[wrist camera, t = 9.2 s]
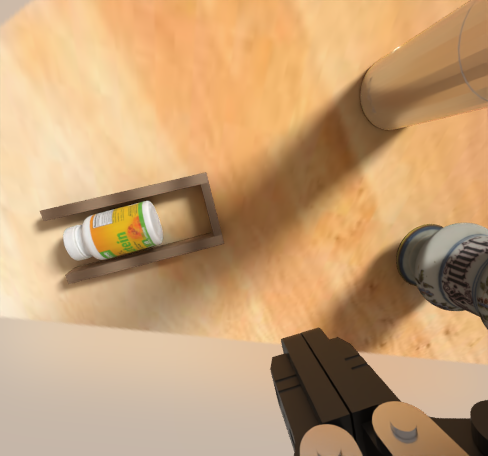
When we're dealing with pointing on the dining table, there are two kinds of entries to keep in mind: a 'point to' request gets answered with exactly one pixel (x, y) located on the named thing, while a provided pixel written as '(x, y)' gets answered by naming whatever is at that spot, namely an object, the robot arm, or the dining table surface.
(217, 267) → the dining table surface
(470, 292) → the apothecary jar
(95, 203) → the walnut U-rest
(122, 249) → the supplement bottle
